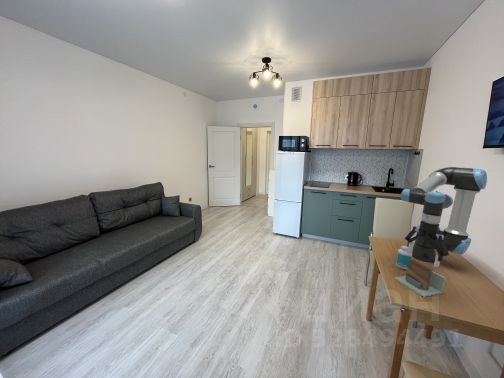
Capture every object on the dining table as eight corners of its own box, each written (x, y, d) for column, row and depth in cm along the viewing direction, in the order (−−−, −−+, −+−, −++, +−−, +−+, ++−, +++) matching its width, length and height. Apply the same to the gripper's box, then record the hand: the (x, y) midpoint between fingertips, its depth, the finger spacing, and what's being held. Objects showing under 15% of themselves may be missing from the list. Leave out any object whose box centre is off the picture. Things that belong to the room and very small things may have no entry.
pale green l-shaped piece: (411, 275, 126) (414, 261, 124) (442, 293, 111) (446, 277, 109) (394, 278, 121) (397, 264, 120) (423, 297, 106) (427, 281, 105)
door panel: (409, 278, 121) (413, 259, 119) (428, 289, 111) (433, 268, 109) (405, 279, 120) (409, 259, 118) (424, 290, 110) (429, 269, 108)
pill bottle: (411, 271, 131) (415, 250, 129) (398, 269, 132) (402, 249, 130) (405, 264, 138) (409, 245, 136) (393, 263, 140) (396, 244, 137)
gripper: (401, 214, 120) (395, 249, 124) (454, 231, 96) (444, 273, 100) (411, 214, 122) (404, 248, 126) (464, 230, 99) (454, 271, 103)
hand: (422, 259), depth 113 cm, fingers open, 13 cm apart
